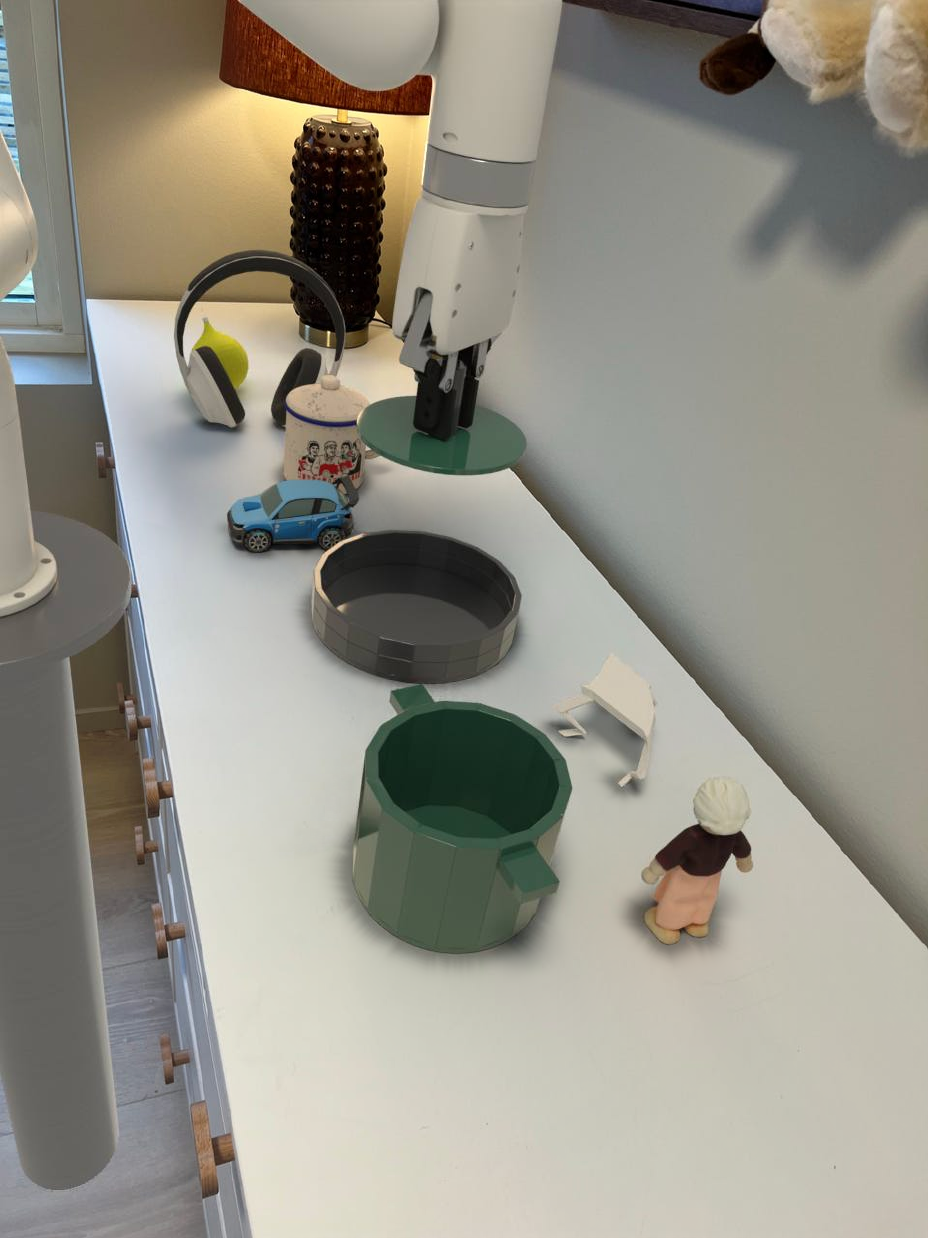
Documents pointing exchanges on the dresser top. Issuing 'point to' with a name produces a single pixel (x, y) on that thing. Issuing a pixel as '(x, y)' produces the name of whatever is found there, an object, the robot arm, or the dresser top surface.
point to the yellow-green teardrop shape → (225, 352)
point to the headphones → (205, 367)
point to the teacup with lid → (324, 433)
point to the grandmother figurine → (699, 861)
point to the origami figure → (618, 705)
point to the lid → (463, 453)
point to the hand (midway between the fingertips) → (442, 425)
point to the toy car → (294, 514)
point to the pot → (457, 822)
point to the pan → (414, 606)
